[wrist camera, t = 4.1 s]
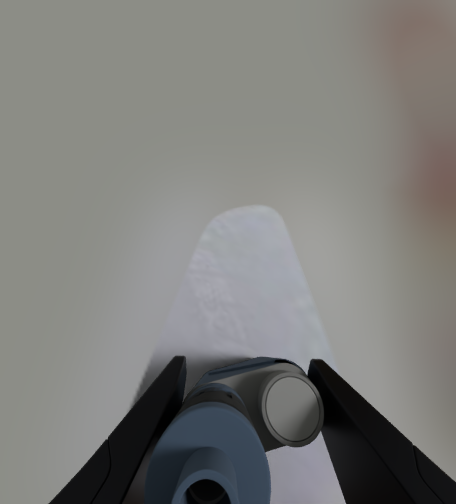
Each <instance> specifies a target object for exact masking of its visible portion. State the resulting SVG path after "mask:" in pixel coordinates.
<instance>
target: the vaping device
mask: <svg viewBox="0 0 456 504" xmlns="http://www.w3.org/2000/svg"><path fill="white" fill-rule="evenodd" d="M323 420H324V408H323V403H322V399H321V397H320V394H319V392H318V391H317V389H316V387H315V386H314V385H313V384H312V383H311V381H310V379H309V377H308V376H307V375H306V373H305V372H304V371H303V370H302V368H300V367H299V366H298V365H297V364H295V363H294V362H292V361H289V360H286V359H280V358H271V357H257V358H254V359H250V360H247V361H244V362H241V363H238V364H234V365H230V366H226V367H223V368H219V369H215V370H211V371H208V372H207V373H205V374H204V375H203V377H202V378H201V379H200V381H199V382H198V383H197V384H196V386H195V387H194V388H193V389H192V390H191V391H190V392H189V393H188V395H187V396H186V398H185V400H184V402H183V404H182V406H181V409H180V411H179V412H178V413H177V415H176V416H175V418H174V419H173V420H172V422H171V423H170V425H169V426H168V427H167V429H166V430H165V431H164V433H163V434H162V436H161V438H160V439H159V441H158V443H157V444H156V446H155V448H154V451H153V453H152V455H151V458H150V461H149V465H148V468H147V472H146V478H145V485H144V504H270V495H271V480H270V471H269V465H268V460H267V457H266V454H265V452H267V451H270V450H273V449H277V448H280V447H283V446H286V445H287V446H290V447H302V446H305V445H308V444H310V443H311V442H312V441H314V439H315V438H316V437H317V436H318V434H319V433H320V431H321V428H322V425H323Z"/></svg>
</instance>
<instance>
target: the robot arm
mask: <svg viewBox="0 0 456 504" xmlns="http://www.w3.org/2000/svg"><path fill="white" fill-rule="evenodd" d="M308 377H309V379H310V381H311V383H312V384H313V385H314V386H315V387H316V389H317V391H318V392H319V394H320V397H321V399H322V403H323V408H324V420H323V425H322V428H321V432H322V435H323V438H324V441H325V444H326V447H327V450H328V452H329V455H330V458H331V461H332V464H333V467H334V470H335V473H336V476H337V479H338V481H339V484H340V487H341V490H342V493H343V496H344V499H345V502H346V504H456V482H455V481H454V480H452V479H451V478H450V477H449V476H448V475H447V474H446V473H445V472H444V471H442V470H441V469H440V468H439V467H438V466H437V465H436V464H435V463H434V462H432V461H431V460H430V459H429V458H428V457H427V456H426V455H425V454H424V453H423V452H421V451H420V450H419V449H418V448H417V447H416V446H414V445H413V444H412V442H411V441H410V440H408V439H407V438H406V437H405V436H404V435H403V434H402V433H401V432H400V431H399V430H398V429H397V428H396V427H394V426H393V425H392V424H391V423H390V422H389V421H388V420H387V419H386V418H385V417H384V416H383V415H381V414H380V413H379V412H378V411H377V410H376V409H375V408H374V407H373V406H372V405H371V404H370V403H368V402H367V401H366V400H365V399H364V398H363V397H362V396H361V395H360V394H359V393H358V392H357V391H355V390H354V389H353V388H352V387H351V386H350V385H349V384H348V383H347V382H346V381H345V380H344V379H343V378H342V377H340V376H339V375H338V374H337V373H336V372H335V371H334V370H333V369H332V368H331V367H330V366H329V365H328V364H326V363H325V362H324V361H323V360H322V359H311V361H310V365H309V370H308ZM185 381H186V357H185V356H175V357H174V358H173V359H172V360H171V361H170V363H169V364H168V365H167V366H166V368H165V369H164V370H163V371H162V372H161V374H160V375H159V376H158V377H157V378H156V380H155V381H154V382H153V383H152V384H151V386H150V387H149V388H148V389H147V391H146V392H145V393H144V394H143V395H142V397H141V398H140V399H139V400H138V401H137V403H136V404H135V405H134V406H133V408H132V409H131V410H130V411H129V412H128V414H127V415H126V416H125V417H124V418H123V420H122V421H121V422H120V423H119V425H118V426H117V427H116V428H115V429H114V431H113V432H112V433H111V434H110V435H109V437H108V439H107V440H105V441H104V443H103V444H102V445H101V446H100V447H99V449H98V450H97V451H96V452H95V454H94V455H93V456H92V457H91V458H90V459H89V460H88V462H87V463H86V464H85V465H84V466H83V467H82V469H81V470H80V471H79V472H78V473H77V474H76V475H75V476H74V477H73V478H72V479H71V481H70V482H69V483H68V484H67V485H66V486H65V487H64V488H63V489H62V490H61V491H60V492H59V494H57V495H56V497H55V498H54V499H53V500H52V501H51V502H50V503H49V504H144V485H145V478H146V472H147V468H148V465H149V461H150V458H151V455H152V453H153V451H154V448H155V446H156V444H157V443H158V441H159V439H160V438H161V436H162V434H163V433H164V431H165V430H166V429H167V427H168V426H169V425H170V423H171V422H172V420H173V419H174V418H175V416H176V415H177V413H178V412H179V411H180V409H181V406H182V402H183V395H184V388H185Z"/></svg>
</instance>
